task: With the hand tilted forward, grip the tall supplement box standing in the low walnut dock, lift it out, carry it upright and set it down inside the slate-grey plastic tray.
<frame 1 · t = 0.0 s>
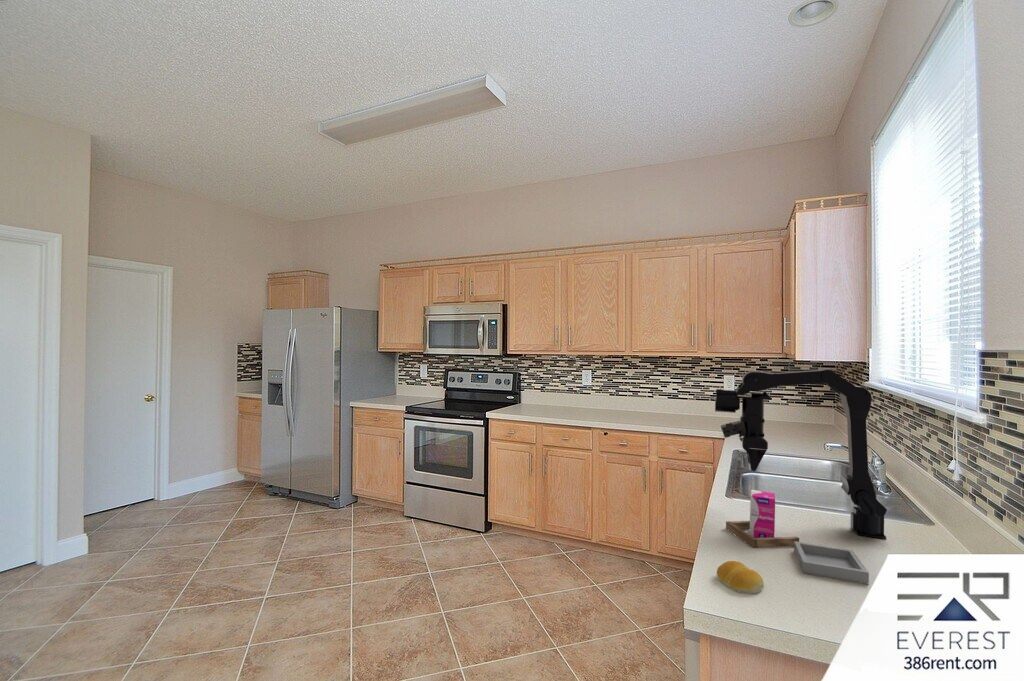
hand: (751, 467, 139), 15 cm above the counter, tool pointing down, fingers open, 9 cm apart
walnut dock: (761, 537, 125), on the counter
grey tray: (828, 566, 108), on the counter
bread roll: (739, 585, 100), on the counter
supplement box: (761, 537, 125), resting in walnut dock
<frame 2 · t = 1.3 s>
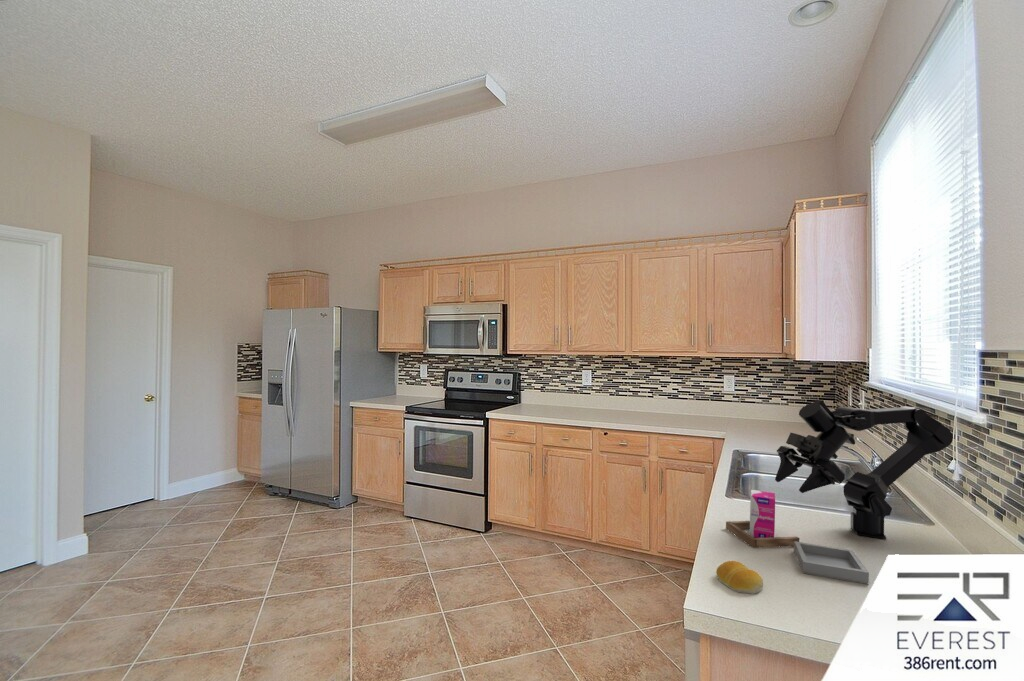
hand: (787, 486, 125), 13 cm above the counter, tool tilted 45°, fingers open, 9 cm apart
nothing on the counter moved.
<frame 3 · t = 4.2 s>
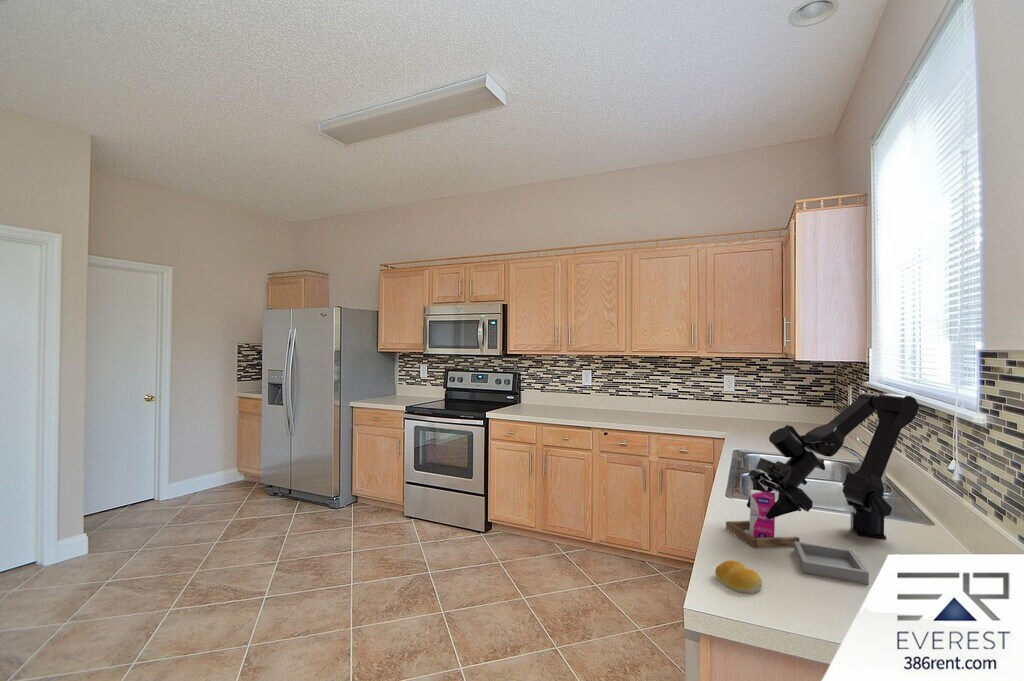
hand: (757, 512, 124), 7 cm above the counter, tool tilted 45°, fingers closed on supplement box, 8 cm apart
supplement box: (761, 537, 125), resting in walnut dock, touching gripper
everything else where it was.
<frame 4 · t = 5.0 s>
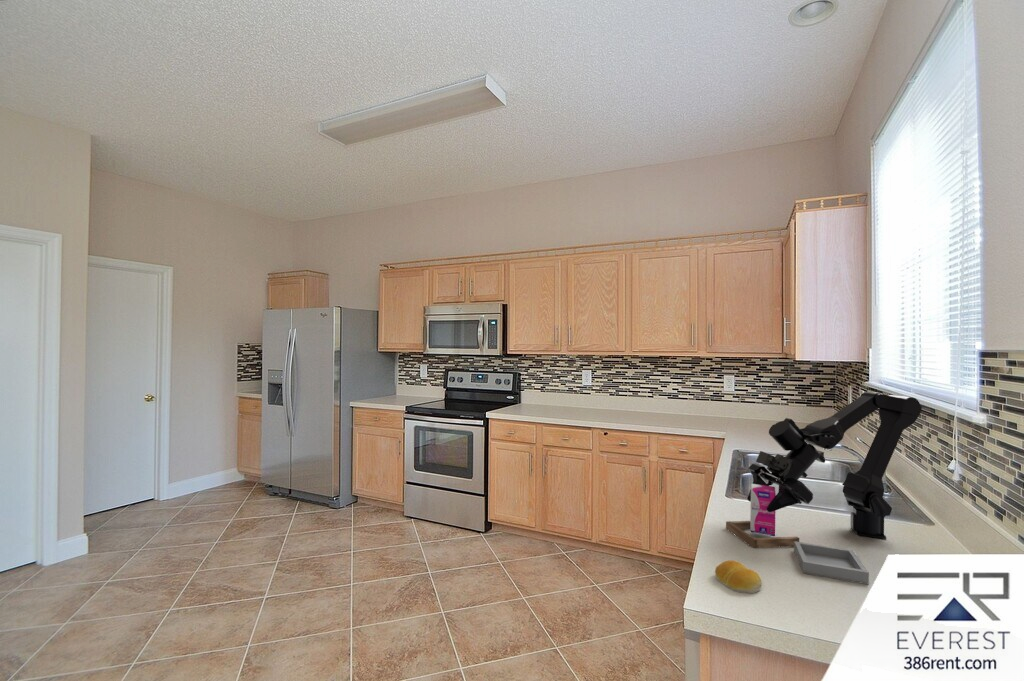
hand: (757, 505, 124), 8 cm above the counter, tool tilted 45°, fingers closed on supplement box, 8 cm apart
supplement box: (762, 531, 125), point 1 cm above the counter, touching gripper
everything else where it was.
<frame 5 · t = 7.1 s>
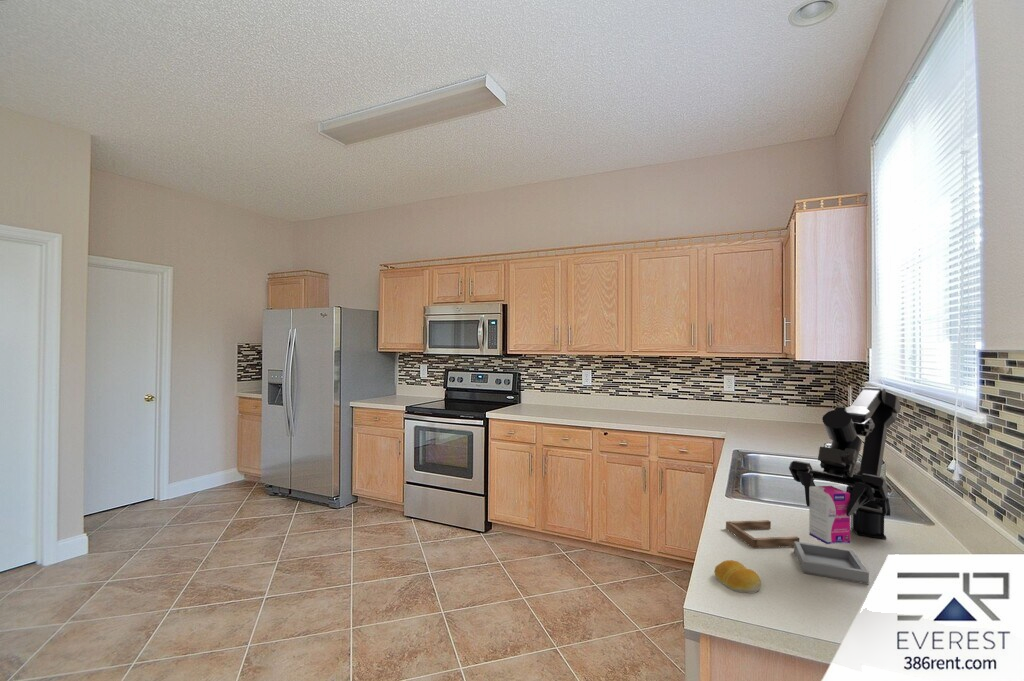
hand: (827, 510, 108), 13 cm above the counter, tool tilted 45°, fingers closed on supplement box, 8 cm apart
supplement box: (829, 540, 108), point 6 cm above the counter, touching gripper
everything else where it was.
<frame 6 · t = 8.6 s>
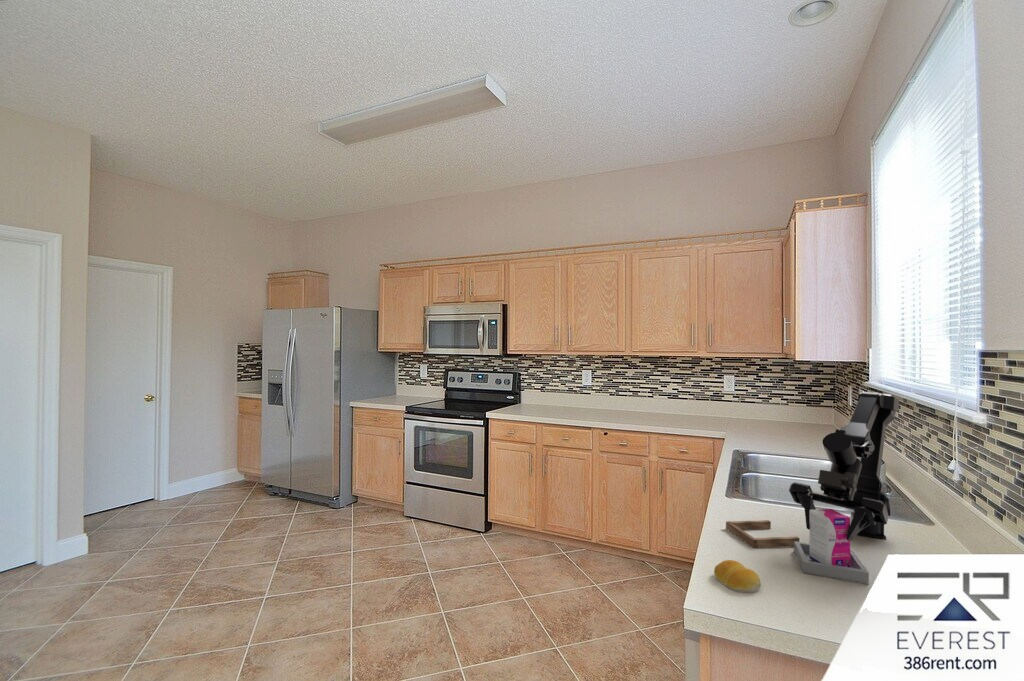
hand: (827, 534, 108), 8 cm above the counter, tool tilted 45°, fingers closed on supplement box, 8 cm apart
supplement box: (829, 563, 108), point 1 cm above the counter, touching gripper
everything else where it was.
when the fingers open (8 cm above the counter, at t = 9.3 s): supplement box stays where it is, resting on grey tray.
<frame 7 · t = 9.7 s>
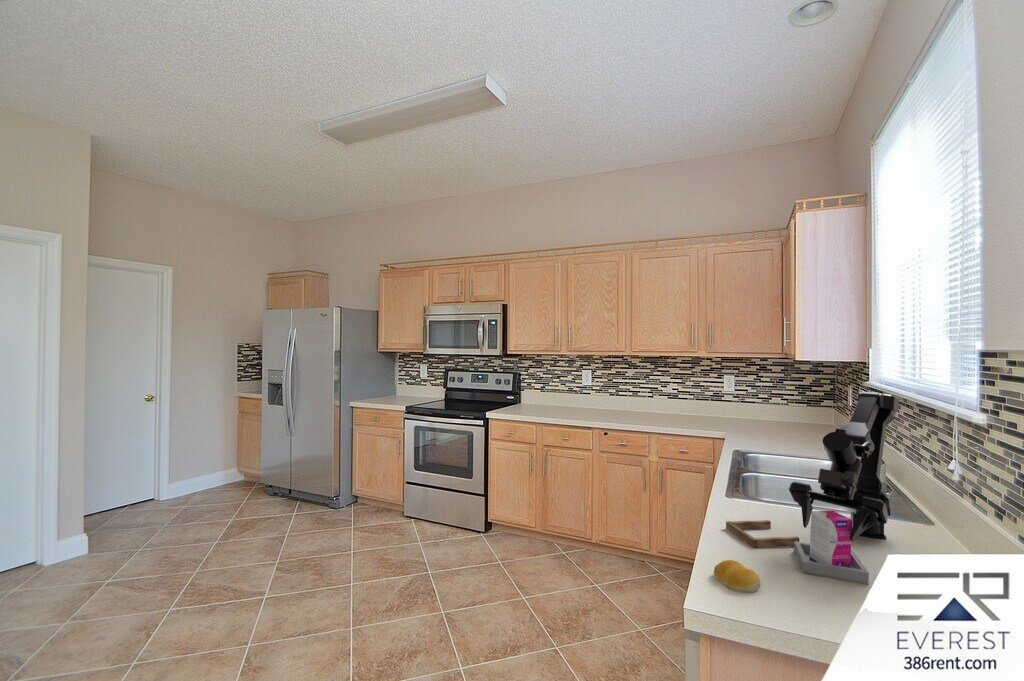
hand: (827, 533, 107), 8 cm above the counter, tool tilted 45°, fingers open, 9 cm apart
supplement box: (829, 565, 108), resting on grey tray
everything else where it was.
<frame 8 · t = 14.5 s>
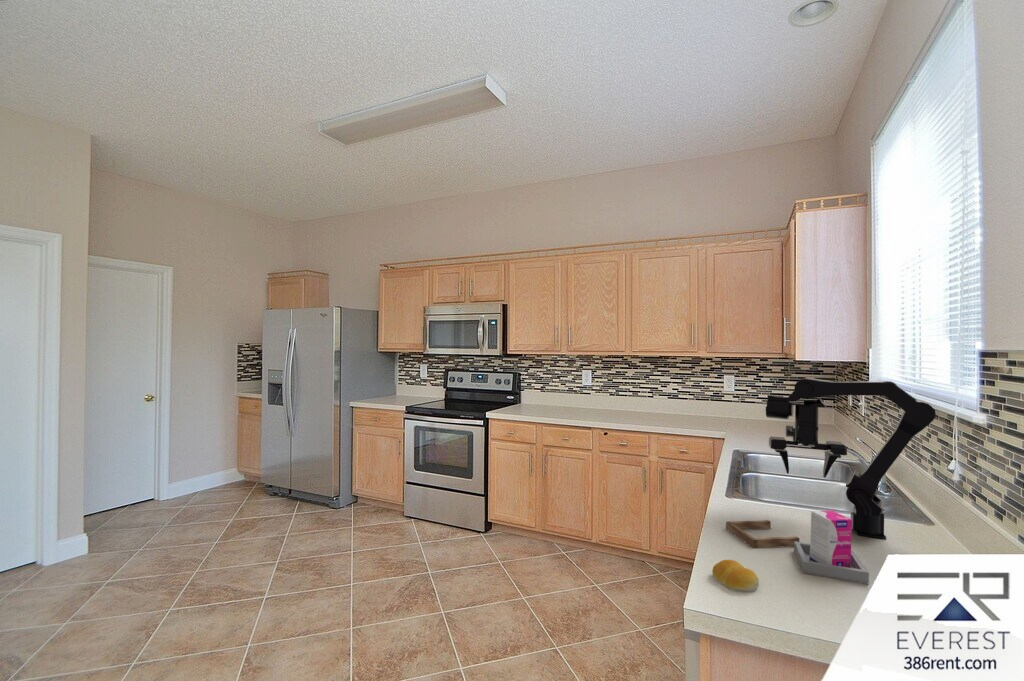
hand: (805, 475, 137), 13 cm above the counter, tool pointing down, fingers open, 9 cm apart
nothing on the counter moved.
at the end: supplement box inside the target area on the grey tray (0.3 cm from its centre), point 0.3 cm above the grey tray's base; supplement box tilted 0°; the gripper is holding nothing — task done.
